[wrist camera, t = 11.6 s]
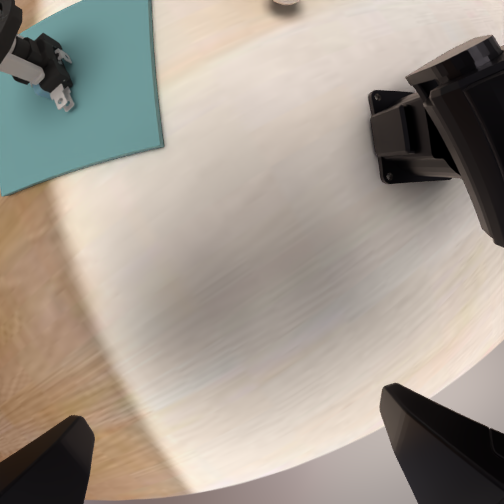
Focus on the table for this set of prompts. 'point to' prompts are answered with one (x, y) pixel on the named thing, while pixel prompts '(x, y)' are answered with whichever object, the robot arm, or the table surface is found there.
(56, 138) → the teal rubber mat
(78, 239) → the table surface
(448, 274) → the table surface
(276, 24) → the table surface
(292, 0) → the grey slab pair
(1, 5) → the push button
